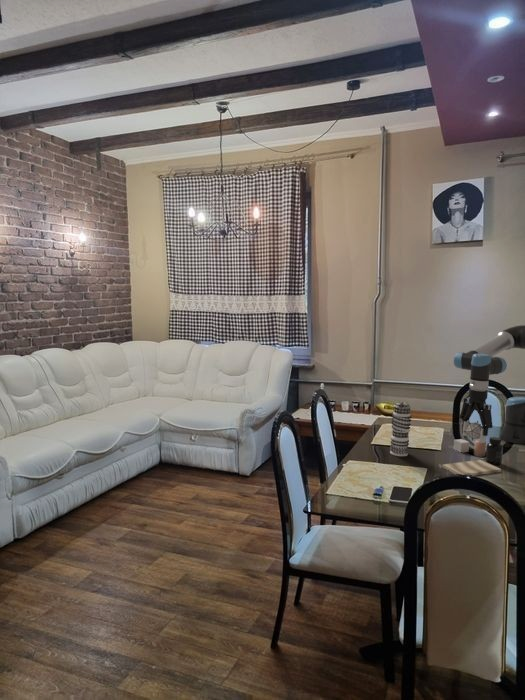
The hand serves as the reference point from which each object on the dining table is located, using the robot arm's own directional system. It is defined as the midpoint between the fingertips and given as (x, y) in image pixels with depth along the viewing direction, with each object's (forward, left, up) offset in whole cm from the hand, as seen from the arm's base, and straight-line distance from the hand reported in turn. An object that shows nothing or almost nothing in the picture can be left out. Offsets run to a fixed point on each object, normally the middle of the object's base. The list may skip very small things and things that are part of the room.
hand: (474, 438), depth 218 cm
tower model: (+19, -27, -14) cm, 36 cm away
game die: (0, 0, 0) cm, 0 cm away
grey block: (-14, -22, -14) cm, 30 cm away
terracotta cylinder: (-18, -14, -14) cm, 27 cm away
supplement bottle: (-16, -3, -14) cm, 22 cm away
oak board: (0, 0, -14) cm, 14 cm away
